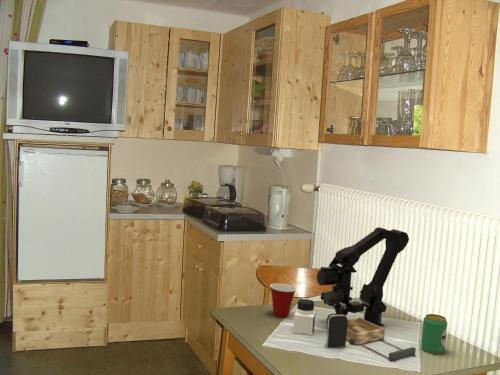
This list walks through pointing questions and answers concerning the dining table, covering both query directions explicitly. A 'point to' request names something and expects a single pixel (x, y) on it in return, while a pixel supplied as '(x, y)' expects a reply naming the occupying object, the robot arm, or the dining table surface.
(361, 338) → the shallow wooden tray
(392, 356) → the rails
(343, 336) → the battery charger
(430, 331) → the beverage can
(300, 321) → the medicine bottle
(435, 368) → the dining table surface
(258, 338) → the dining table surface
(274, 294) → the plastic cup
